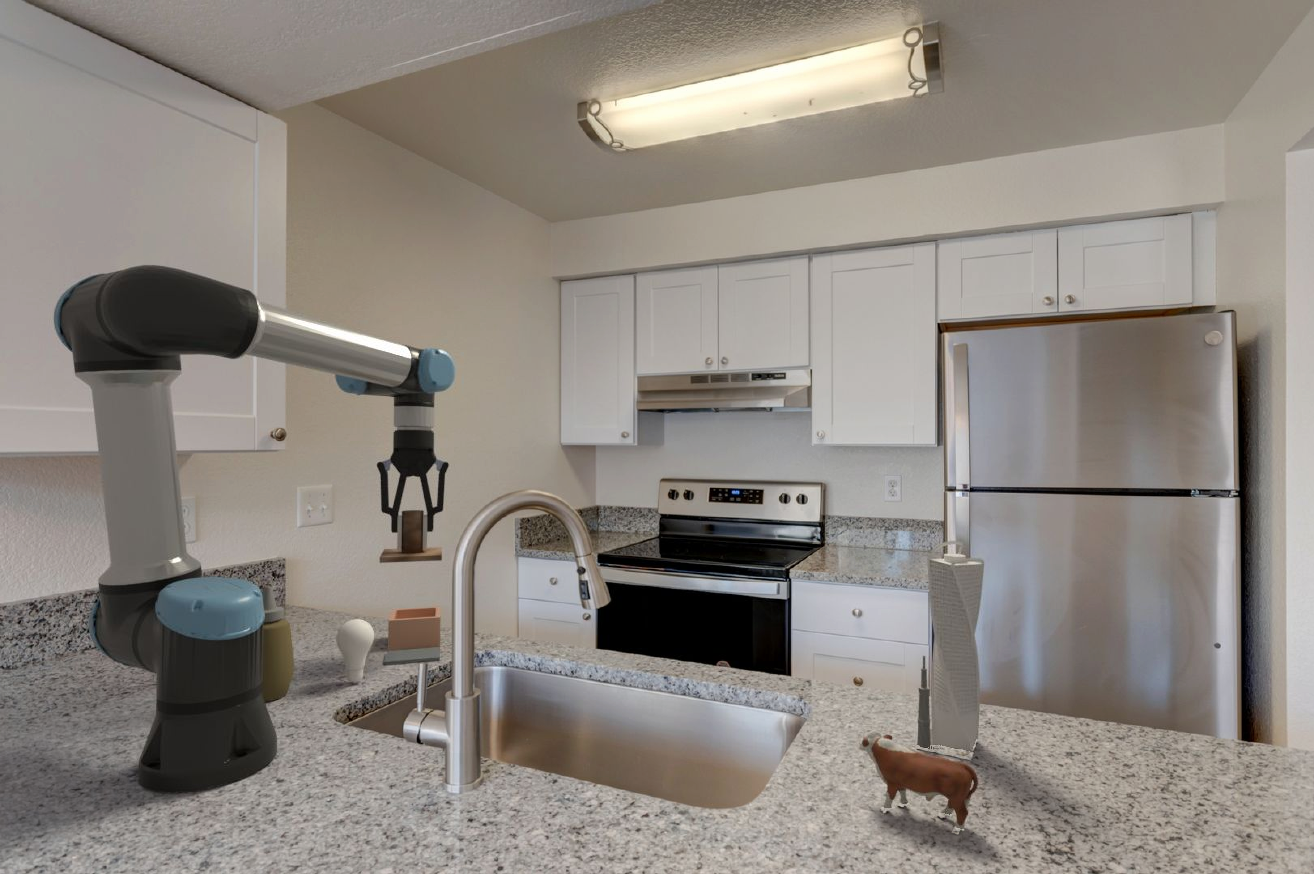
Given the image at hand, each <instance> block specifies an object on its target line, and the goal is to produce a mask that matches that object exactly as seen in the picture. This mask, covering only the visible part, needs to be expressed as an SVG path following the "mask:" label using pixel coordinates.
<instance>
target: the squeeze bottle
mask: <svg viewBox="0 0 1314 874" xmlns="http://www.w3.org/2000/svg"><path fill="white" fill-rule="evenodd" d="M262 597H263V606H264V611H265V618H264V621H263V686H262V692H263V699H264V702H271V701H274V700H277V699H278V700H279V699H281V698H283V697H284V696H287V694H288V692H289V690H290V685H291V683H292V680H293V678H294V675H295V672H296V669H295V667H296V666H295V660H294V659H295V658H294V657H295V656H294V649H293V640H292V629H291V622H290V621H288V620H286V619H284V617H285V615H284V614H285V608H284V607H283V606H277V603H276V602H277V601H276V596H275V592H274V589H273V586H265V587H263V590H262Z"/></svg>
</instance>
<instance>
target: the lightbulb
mask: <svg viewBox="0 0 1314 874" xmlns="http://www.w3.org/2000/svg"><path fill="white" fill-rule="evenodd" d="M374 639H375V632H374V628H373V626H372V625H371V624H370V623H369V622H368V621H366V620H363V619H358V618H357V619H355V618H354V619H351V620H348V621H346V622H345V623H343V624H342V625H341V626H340V627H339V629H338V630H337V634H336V637H335V643H336V646H337V648H338V651H340V653H341V655H342V657H343V660H344V667H345V669H346V678H347V679H346V680H347V682H350V683H352V684H357V683H359V682H360V681H361V680H362V679H363V677H364V668H365V665H366V659H367V655H368V653H369V651H370V649H371V647H372V645H373V643H374Z"/></svg>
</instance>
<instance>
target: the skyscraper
mask: <svg viewBox="0 0 1314 874" xmlns="http://www.w3.org/2000/svg"><path fill="white" fill-rule="evenodd" d="M949 545H959V549H958V552H957V553H944V554H943V558H932V557H933V555H934V554H935V553H936V552H937V551H938V550H939V549H940V548H942V547H943V548H944V547H945V546H949ZM963 548H964V543H963V542H962V541H959V540H951V541H950V540H949V541H944V542H942V543H939V544H937V545H936V546H935V547H934V548H933V549H932V550H931V552H930V553H929V555H928V557H927V577H928V593H929V603H930V605H929V606H930V614H931V623H932V627H933V634H934V635H933V636H934V639H933V647H932V660H931V680H930V681H931V683H930V684H931V688H930V687H929V686H928V675H927V674H928V672H927V671H928V668H926V655H922V667H921V668H920V671H921V672H920V673H921V675H920V678H921V681H920V685H919V686H918V688H917V689H918V716H917V720H916V721H917V740H916V741H917V743H916V745H919V746H920V747H923V748H928V747H929V748H928V749H930V745H940V746H941V745H942V746H946V747H950V748H954V749H963V750H966V751H970V752H973V751H972V749H973V746H974V744H975V741H976V739H978V740H979V727H980V726H979V725H980V724H979V723H980V709H981V708H980V706H981V705H980V704H981V703H980V701H981V690H980V689H981V687H980V685H981V684H980V664H979V655H978V647H977V641H976V635H975V634H976V630H977V625H978V620H979V615H980V610H981V601H982V593H983V592H982V591H983V583H984V571H985V570H984V569H985V561H984V559H983V558H980V557H978V558H977V557H971V558H970V557H969V558H967V556H966V555H965V554H962V551H963ZM930 691H931V693H930ZM930 694H931V697H930ZM930 700H931V702H930ZM930 704H931V706H930ZM930 707H931V708H930ZM930 709H931V715H930ZM930 716H931V717H930ZM931 740H932V741H931ZM931 749H932V746H931ZM933 749H935V748H934V747H933ZM936 749H939V748H936ZM940 749H941V748H940Z"/></svg>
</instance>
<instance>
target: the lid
mask: <svg viewBox="0 0 1314 874" xmlns="http://www.w3.org/2000/svg"><path fill="white" fill-rule="evenodd" d="M424 513H425V512H424V510H423V509H421V510H420V509H412V510H411V509H410V510H409V509H408V510H402V511H401V515H402V550H401V551H397V548H384V549H383V551H382V552H381V553H380V554H381V555H380V557H379V563H380V564H387V563H409V562H410V563H411V562H414V563H415V562H432V561H433V562H435V561H439V562H440V561H441V562H442V560H443V549H442V548H443V547H442V546H438V547H427V550H423V516H424V515H425V514H424Z"/></svg>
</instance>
